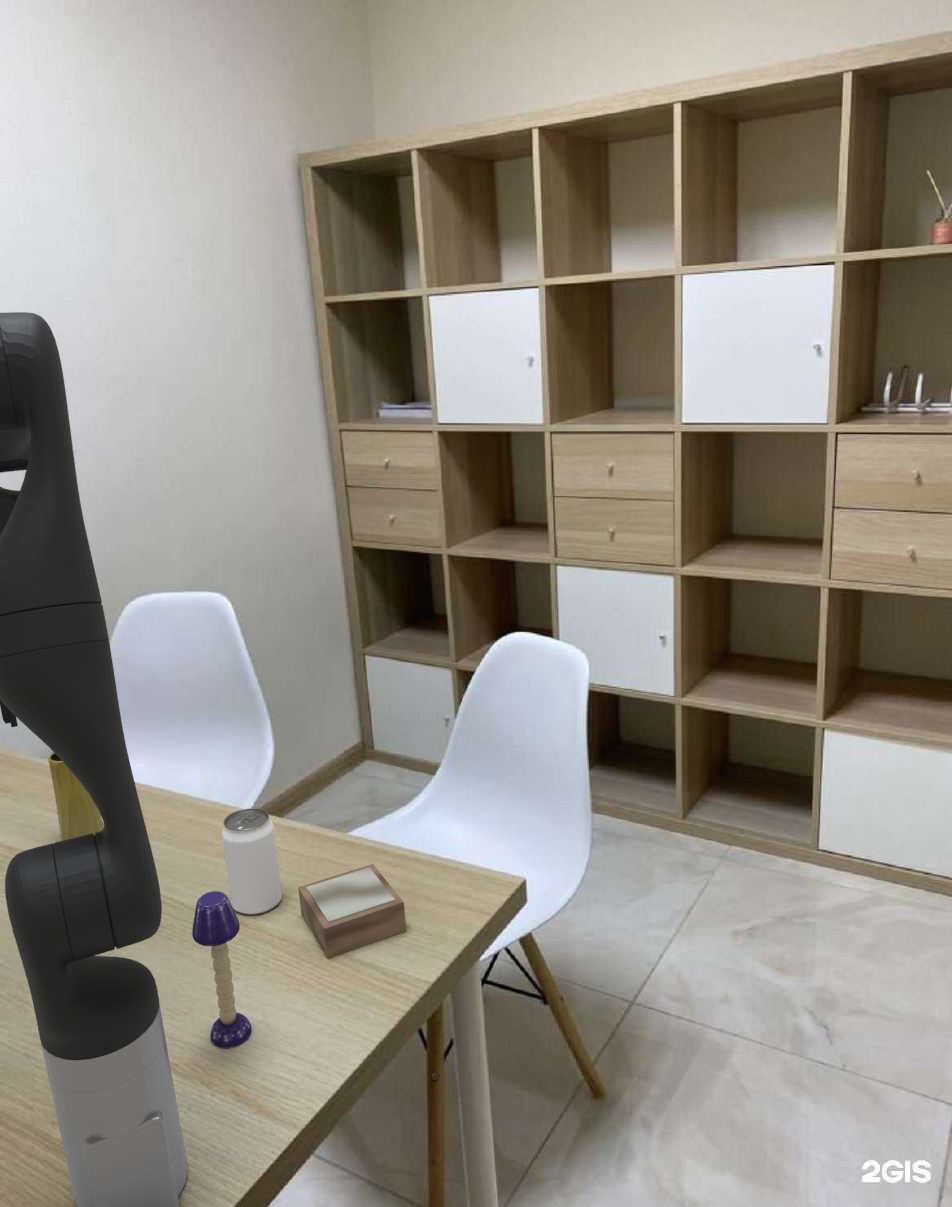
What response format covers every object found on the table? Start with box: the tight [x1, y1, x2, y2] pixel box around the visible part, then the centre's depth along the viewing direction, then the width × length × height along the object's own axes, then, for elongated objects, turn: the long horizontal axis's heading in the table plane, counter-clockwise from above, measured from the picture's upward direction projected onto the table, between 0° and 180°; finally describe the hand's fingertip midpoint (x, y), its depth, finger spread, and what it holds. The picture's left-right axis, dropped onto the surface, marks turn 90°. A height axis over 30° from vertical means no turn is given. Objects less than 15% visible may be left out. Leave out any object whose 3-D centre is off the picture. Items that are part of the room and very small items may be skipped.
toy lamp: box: [191, 890, 253, 1049], centre depth 98 cm, size 5×5×17 cm
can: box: [221, 807, 283, 916], centre depth 123 cm, size 6×6×12 cm
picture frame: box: [297, 863, 407, 959], centre depth 118 cm, size 10×10×4 cm
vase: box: [48, 751, 104, 841], centre depth 140 cm, size 6×6×14 cm
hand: (53, 716), depth 114 cm, fingers open, 8 cm apart
